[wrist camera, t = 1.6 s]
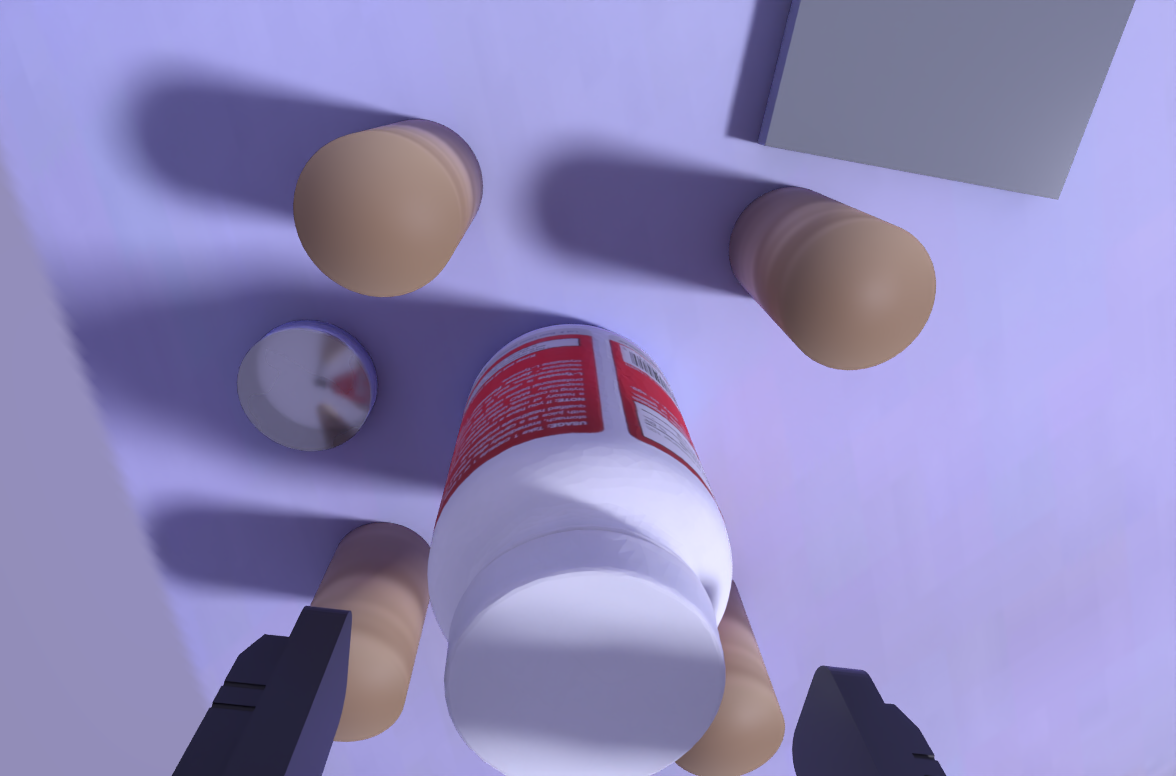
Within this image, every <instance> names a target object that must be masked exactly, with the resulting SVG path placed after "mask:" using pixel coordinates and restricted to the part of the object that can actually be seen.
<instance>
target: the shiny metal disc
mask: <svg viewBox="0 0 1176 776" xmlns="http://www.w3.org/2000/svg"><path fill="white" fill-rule="evenodd" d="M377 390H378V381H377V374H376V370H375V366H374V364H373V362H372V359H371V358H370V356H369V354H368V352H367V351H366V350H365V348H364V347H363V346H362V345H361V344H360V343H359V342H358V341H357V340H356V339H355V338H354V337H353V336H352V335H350V334H349V333H347V332H346V331H344V330H343V329H341V328H339V327H337V326H334V325H332V324H329V323H326V322H321V321H315V320H298V321H292V322H288V323H285V324H282V325H280V326H278V327H276V328H275V329H273V330H271V331H270V332H269V333H268V334H266V335H265V336H264V337H263V338H262V339H261V340H260V341H258V342H257V343H256V344H255V345H254V346H253V347H252V348H251V349H250V350H249V351H248V352H247V354H246V355H245V357H244V359H243V360H242V363H241V365H240V368H239V372H238V377H237V391H238V396H239V400H240V403H241V406H242V408H243V410H244V412H245V414H246V415H247V417H248V418H249V420H250V421H251V422H252V424H253V425H254V426H255V427H256V428H257V429H258V430H259V431H260V432H261V433H262V434H264V435H265V436H267V437H268V438H269V439H271V440H273V441H274V442H276V443H278V444H281V445H283V446H285V447H289V448H292V449H296V450H301V451H321V450H327V449H330V448H334V447H336V446H339V445H341V444H343V443H344V442H346V441H348V440H349V439H350V438H352V437H353V436H354V435H355V434H356V433H357V432H358V431H359V430H360V428H361V427H362V425H363V424H364V422H365V420H366V418H367V417H368V415H369V413H370V411H371V409H372V407H373V405H374V403H375V400H376V396H377Z"/></svg>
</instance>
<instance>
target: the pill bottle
mask: <svg viewBox="0 0 1176 776" xmlns="http://www.w3.org/2000/svg"><path fill="white" fill-rule="evenodd" d="M427 576H428V589H429V597H430V601H431V605H432V609H433V612H434V615H435V617H436V620H437V622H438V624H439V627H440V629H441V631H442V633H443V635H444V636H445V638H446V640H447V641H448V651H447V658H446V666H445V675H444V685H445V698H446V703H447V707H448V711H449V715H450V717H451V719H452V722H453V724H454V726H455V728H456V730H457V731H458V733H459V735H460V736H461V738H462V739H463V741H464V742H465V743H466V745H467V746H468V747H469V748H470V749H471V750H472V751H473V752H474V753H475V754H476V755H477V756H478V757H479V758H480V759H482V760H483V761H484V762H485V763H487V764H488V765H490V766H491V767H493V768H494V769H496V770H497V771H499V772H501V773H503V774H504V775H506V776H650V775H652V774H655V773H657V772H659V771H661V770H662V769H664V768H666V767H668V766H669V765H671V764H672V763H674V762H675V761H677V760H678V759H679V758H680V757H682V756H683V755H684V754H685V753H686V752H688V751H689V750H690V749H691V748H692V747H693V746H694V745H695V744H696V743H697V742H698V741H699V740H700V739H701V737H702V736H703V735H704V733H705V732H706V731H707V730H708V728H709V726H710V725H711V723H712V722H713V720H714V718H715V716H716V714H717V712H718V710H719V707H720V704H721V701H722V698H723V694H724V688H725V660H724V653H723V649H722V645H721V641H720V637H719V632H718V628H717V627H718V625H719V623H720V621H721V619H722V616H723V614H724V612H725V609H726V606H727V602H728V598H729V594H730V589H731V582H732V555H731V546H730V542H729V538H728V534H727V531H726V527H725V523H724V519H723V516H722V514H721V512H720V510H719V508H718V505H717V503H716V500H715V498H714V495H713V493H712V490H711V488H710V485H709V483H708V481H707V478H706V475H705V473H704V471H703V468H702V466H701V463H700V461H699V458H698V455H697V453H696V450H695V448H694V445H693V443H692V440H691V438H690V435H689V433H688V430H687V428H686V425H685V423H684V420H683V417H682V415H681V412H680V410H679V407H678V405H677V402H676V400H675V397H674V395H673V392H672V390H671V388H670V385H669V384H668V382H667V380H666V378H665V376H664V374H663V373H662V371H661V370H660V368H659V367H658V365H657V364H656V363H655V362H654V360H653V359H652V358H651V357H650V356H649V355H648V354H647V353H646V352H645V351H644V350H642V349H641V348H640V347H639V346H638V345H636V344H635V343H633V342H632V341H630V340H629V339H627V338H625V337H623V336H621V335H619V334H617V333H614V332H612V331H609V330H606V329H603V328H599V327H595V326H590V325H581V324H561V325H554V326H548V327H544V328H540V329H536V330H533V331H531V332H528V333H526V334H524V335H521V336H520V337H518V338H516V339H514V340H513V341H511V342H510V343H508V344H507V345H505V346H504V347H503V348H501V349H500V350H499V351H498V352H497V353H496V354H495V355H494V356H493V357H492V358H491V359H490V360H489V361H488V362H487V363H486V365H485V366H484V367H483V369H482V370H481V372H480V373H479V375H478V376H477V378H476V380H475V382H474V384H473V386H472V389H471V391H470V394H469V397H468V399H467V403H466V406H465V409H464V413H463V417H462V422H461V426H460V430H459V434H458V437H457V441H456V445H455V449H454V453H453V457H452V461H451V465H450V469H449V473H448V477H447V480H446V484H445V488H444V492H443V497H442V500H441V504H440V508H439V512H438V515H437V519H436V523H435V527H434V532H433V537H432V542H431V547H430V553H429V559H428V573H427Z"/></svg>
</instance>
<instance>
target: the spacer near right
mask: <svg viewBox="0 0 1176 776" xmlns="http://www.w3.org/2000/svg"><path fill="white" fill-rule="evenodd" d="M729 259H730V264H731V267H732V270H733V273H734V275H735V277H736V278H737V280H738V281H739V283H740V284H741V285H742V287H743V288H744V289H745V290H746V291H747V292H748V293H749V294H750V295H751V296H752V297H753V299H754V300H755V301H756V302H757V303H758V304H759V305H760V306H761V307H762V308H763V309H764V311H765V312H766V313H767V314H768V315H769V316H770V317H771V318H772V319H773V320H774V321H775V323H776V324H777V325H778V326H779V327H780V328H781V329H782V330H783V331H784V332H785V333H786V335H787V336H788V337H789V338H790V339H791V340H792V341H793V342H794V343H795V344H796V345H797V347H798V348H799V349H800V350H801V351H802V352H803V353H804V354H805V355H807V356H808V357H809V358H811V359H812V360H814V361H816V362H817V363H819V364H822V365H824V366H827V367H830V368H834V369H841V370H858V369H865V368H869V367H873V366H876V365H878V364H881V363H883V362H886V361H887V360H889V359H891V358H893V357H895V356H896V355H897V354H899V353H900V352H902V351H903V350H904V349H905V348H906V347H908V346H909V345H910V344H911V343H912V342H913V340H914V339H915V338H916V337H917V336H918V335H919V333H920V332H921V330H922V329H923V327H924V326H925V324H926V322H927V320H928V318H929V316H930V313H931V311H932V308H933V304H934V300H935V293H936V278H935V271H934V267H933V264H932V261H931V259H930V256H929V254H928V253H927V251H926V250H925V248H924V246H923V245H922V244H921V243H920V242H919V241H918V240H917V239H916V238H915V237H914V236H913V235H912V234H910V233H909V232H907V231H905V230H904V229H902V228H900V227H897V226H895V225H893V224H890V223H888V222H886V221H883V220H881V219H878V218H876V217H874V216H871V215H869V214H867V213H864V212H862V211H859V210H857V209H855V208H852V207H850V206H848V205H845V204H843V203H841V202H838V201H836V200H833V199H831V198H829V197H826V196H824V195H822V194H819V193H817V192H814V191H812V190H809V189H806V188H801V187H785V188H779V189H776V190H772V191H770V192H768V193H765V194H763V195H762V196H760V197H758V198H757V199H756V200H754V201H753V202H752V203H751V204H750V205H749V206H748V207H747V208H746V209H745V210H744V211H743V212H742V214H741V215H740V216H739V218H738V220H737V221H736V223H735V226H734V228H733V230H732V234H731V237H730V243H729Z"/></svg>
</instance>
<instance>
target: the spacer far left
mask: <svg viewBox="0 0 1176 776" xmlns="http://www.w3.org/2000/svg"><path fill="white" fill-rule="evenodd" d="M429 553H430V547H429V545H428V544H427V543H426V541H425V540H424V539H423V538H422V537H421V536H419V535H418V534H417V533H415V532H414V531H412V530H410V529H408V528H406V527H404V526H401V525H397V524H393V523H384V522H381V523H371V524H366V525H363V526H360V527H358V528H356V529H354V530H353V531H351V532H350V533H348V534H347V535H346V536H345V537H344V538H343V539H342V541H341V542H340V543H339V545H338V547H337V549H336V551H335V554H334V556H333V558H332V560H331V562H330V564H329V566H328V569H327V571H326V573H325V575H324V577H323V579H322V581H321V584H320V586H319V588H318V590H317V592H316V594H315V596H314V599H313V601H312V603H311V605H310V606H313V607H322V608H331V609H340V610H349V611H351V612H352V628H351V640H350V652H349V665H348V677H347V688H346V695H345V700H344V705H343V710H342V714H341V718H340V722H339V725H338V728H337V731H336V734H335V737H334V740H333V741H340V742H351V741H359V740H364V739H368V738H371V737H374V736H376V735H378V734H380V733H382V732H384V731H385V730H387V729H388V728H389V727H390V726H391V725H393V724H394V722H395V721H396V720H397V719H398V717H399V716H400V714H401V712H402V710H403V707H404V703H405V699H406V695H407V691H408V687H409V683H410V678H411V674H412V670H413V666H414V662H415V658H416V653H417V649H418V645H419V641H420V637H421V633H422V629H423V624H424V620H425V616H426V612H427V608H428V604H429V599H430V597H429V589H428V576H427V573H428V559H429Z"/></svg>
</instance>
